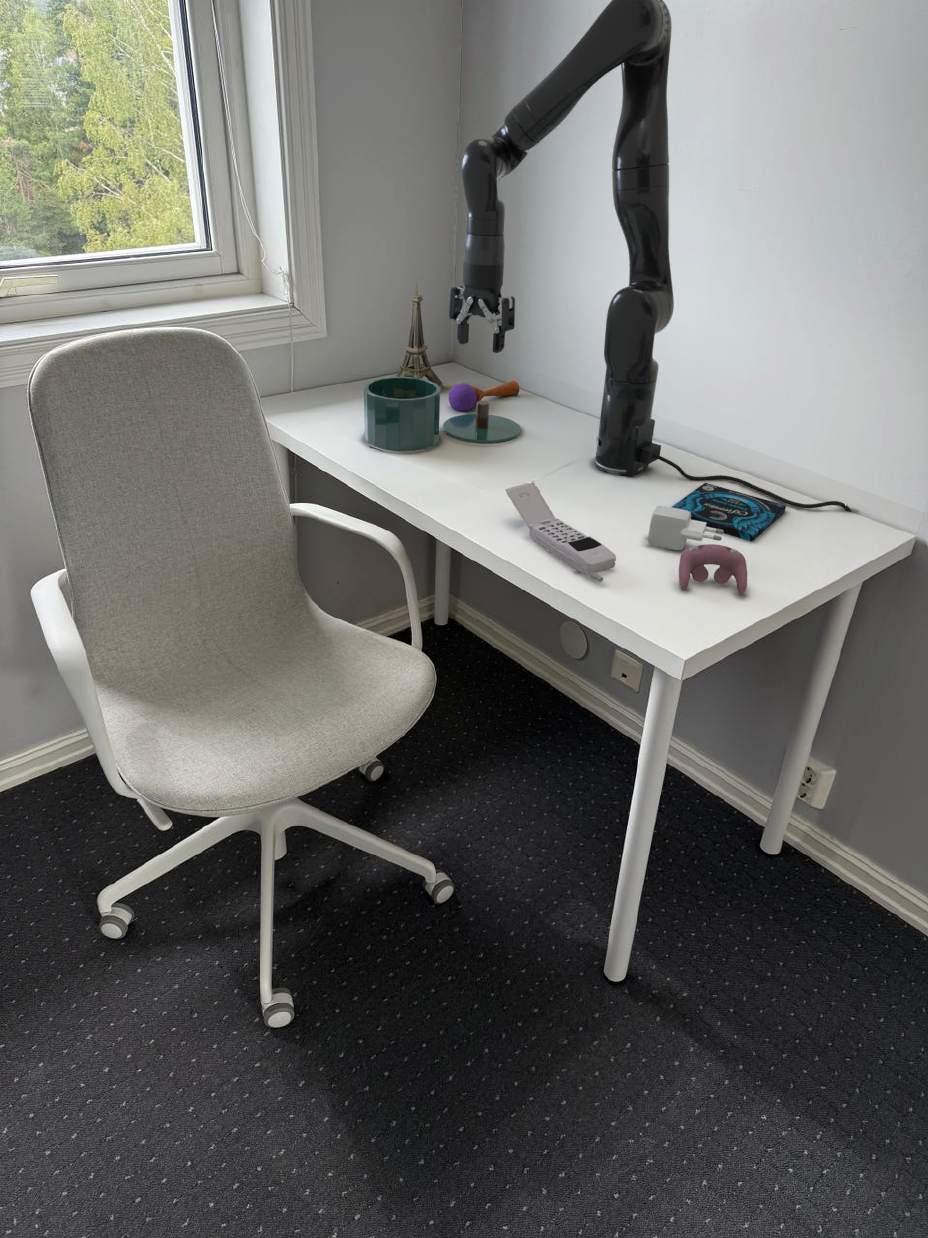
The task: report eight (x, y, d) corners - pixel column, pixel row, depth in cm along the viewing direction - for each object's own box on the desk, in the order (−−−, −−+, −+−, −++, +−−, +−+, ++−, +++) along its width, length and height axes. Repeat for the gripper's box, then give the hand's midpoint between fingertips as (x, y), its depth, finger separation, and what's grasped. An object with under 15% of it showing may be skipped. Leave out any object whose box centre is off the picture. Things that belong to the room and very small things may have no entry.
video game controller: (741, 593, 136) (745, 546, 135) (748, 595, 131) (753, 546, 131) (674, 588, 136) (678, 541, 136) (679, 589, 132) (683, 541, 131)
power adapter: (720, 548, 145) (727, 514, 142) (716, 561, 141) (723, 527, 138) (651, 534, 148) (656, 501, 145) (645, 547, 145) (650, 513, 141)
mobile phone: (532, 481, 151) (631, 540, 132) (530, 513, 154) (626, 576, 136) (502, 488, 148) (598, 550, 130) (500, 521, 151) (594, 586, 133)
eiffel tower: (422, 400, 202) (423, 282, 189) (383, 391, 207) (382, 275, 194) (447, 389, 210) (450, 275, 197) (409, 380, 214) (410, 268, 201)
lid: (535, 432, 187) (538, 403, 184) (486, 452, 177) (488, 421, 174) (476, 413, 196) (478, 385, 193) (426, 431, 186) (427, 401, 182)
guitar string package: (786, 505, 157) (753, 534, 147) (784, 512, 158) (752, 541, 148) (705, 482, 165) (668, 508, 154) (704, 489, 166) (667, 515, 155)
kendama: (526, 381, 204) (465, 392, 190) (519, 405, 207) (459, 418, 194) (507, 370, 207) (446, 380, 193) (501, 394, 210) (440, 406, 197)
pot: (454, 440, 182) (456, 388, 176) (402, 459, 172) (402, 405, 167) (401, 422, 190) (401, 371, 184) (349, 439, 180) (348, 387, 174)
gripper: (526, 262, 167) (521, 351, 175) (467, 251, 175) (464, 337, 183) (501, 267, 162) (496, 358, 170) (441, 255, 170) (439, 343, 178)
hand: (480, 347), depth 177 cm, fingers open, 8 cm apart
